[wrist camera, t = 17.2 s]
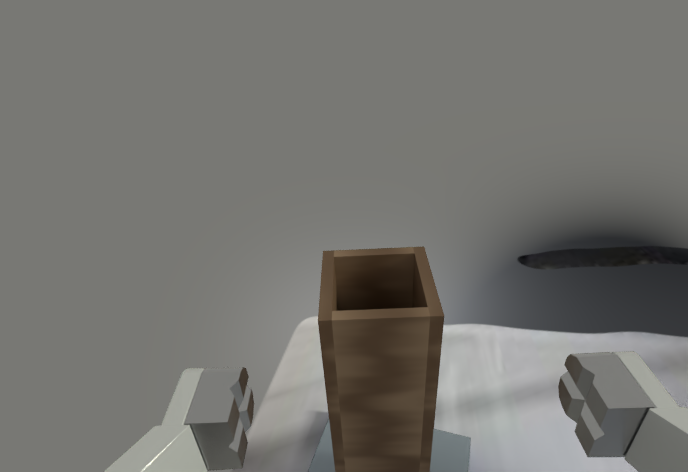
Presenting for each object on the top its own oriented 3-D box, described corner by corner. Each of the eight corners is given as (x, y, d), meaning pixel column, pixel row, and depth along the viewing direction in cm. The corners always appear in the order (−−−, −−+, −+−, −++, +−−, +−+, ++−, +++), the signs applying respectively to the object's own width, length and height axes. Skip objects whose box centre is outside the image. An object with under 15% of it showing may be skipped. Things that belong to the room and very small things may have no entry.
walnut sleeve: (412, 463, 40) (423, 246, 27) (423, 541, 34) (444, 315, 22) (343, 465, 40) (323, 251, 27) (343, 543, 35) (318, 320, 22)
